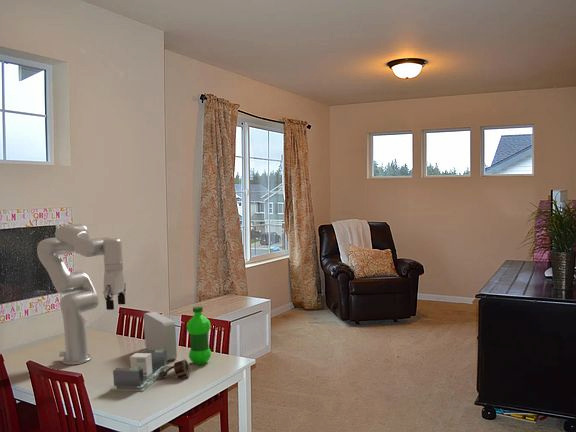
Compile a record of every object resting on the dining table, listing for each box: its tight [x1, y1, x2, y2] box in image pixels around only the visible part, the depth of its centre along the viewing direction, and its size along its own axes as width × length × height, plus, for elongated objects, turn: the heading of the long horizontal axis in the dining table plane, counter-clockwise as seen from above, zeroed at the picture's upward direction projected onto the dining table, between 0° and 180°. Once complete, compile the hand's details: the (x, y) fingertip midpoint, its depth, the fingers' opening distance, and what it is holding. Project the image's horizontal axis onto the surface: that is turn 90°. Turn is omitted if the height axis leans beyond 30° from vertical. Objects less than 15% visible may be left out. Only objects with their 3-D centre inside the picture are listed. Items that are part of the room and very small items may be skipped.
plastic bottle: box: [186, 305, 212, 366], centre depth 236 cm, size 10×10×25 cm
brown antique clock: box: [158, 359, 191, 380], centre depth 220 cm, size 7×13×10 cm
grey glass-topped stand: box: [109, 348, 172, 392], centre depth 220 cm, size 14×27×9 cm, turn 169°
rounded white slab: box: [143, 311, 178, 362], centre depth 253 cm, size 29×8×18 cm, turn 33°
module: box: [129, 352, 152, 376], centre depth 220 cm, size 7×5×8 cm
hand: (116, 306), depth 229 cm, fingers open, 9 cm apart
